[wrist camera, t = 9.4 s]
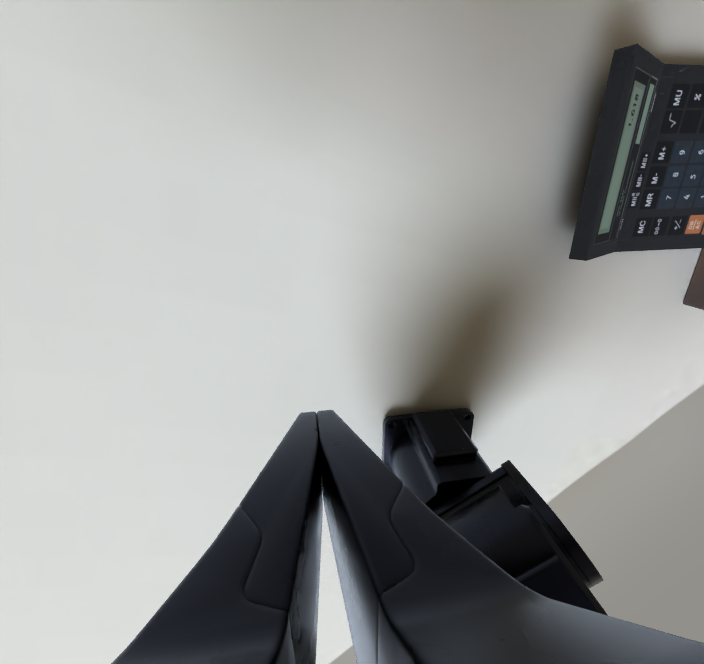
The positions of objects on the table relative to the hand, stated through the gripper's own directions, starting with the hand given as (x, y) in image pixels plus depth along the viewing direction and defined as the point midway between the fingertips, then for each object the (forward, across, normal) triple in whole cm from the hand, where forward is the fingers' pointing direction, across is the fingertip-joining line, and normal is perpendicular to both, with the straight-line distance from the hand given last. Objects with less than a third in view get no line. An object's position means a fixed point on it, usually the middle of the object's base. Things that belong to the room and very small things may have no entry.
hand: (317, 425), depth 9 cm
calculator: (+12, -20, -7) cm, 25 cm away
